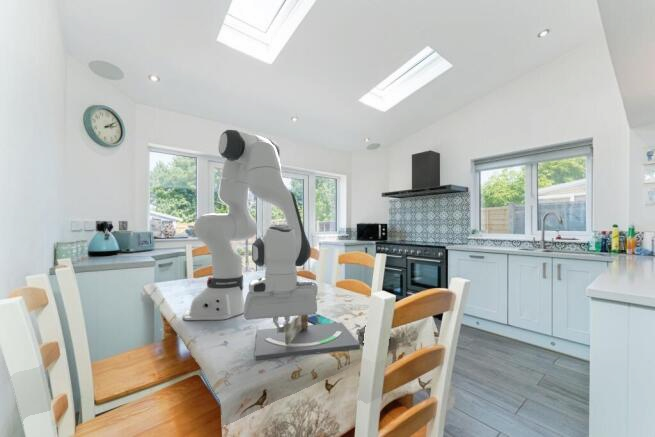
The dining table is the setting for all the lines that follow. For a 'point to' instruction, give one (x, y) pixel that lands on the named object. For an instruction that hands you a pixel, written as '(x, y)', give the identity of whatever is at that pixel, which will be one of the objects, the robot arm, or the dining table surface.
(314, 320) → the smartphone
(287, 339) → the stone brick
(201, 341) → the dining table surface
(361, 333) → the egg carton
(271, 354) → the arc gauge board
